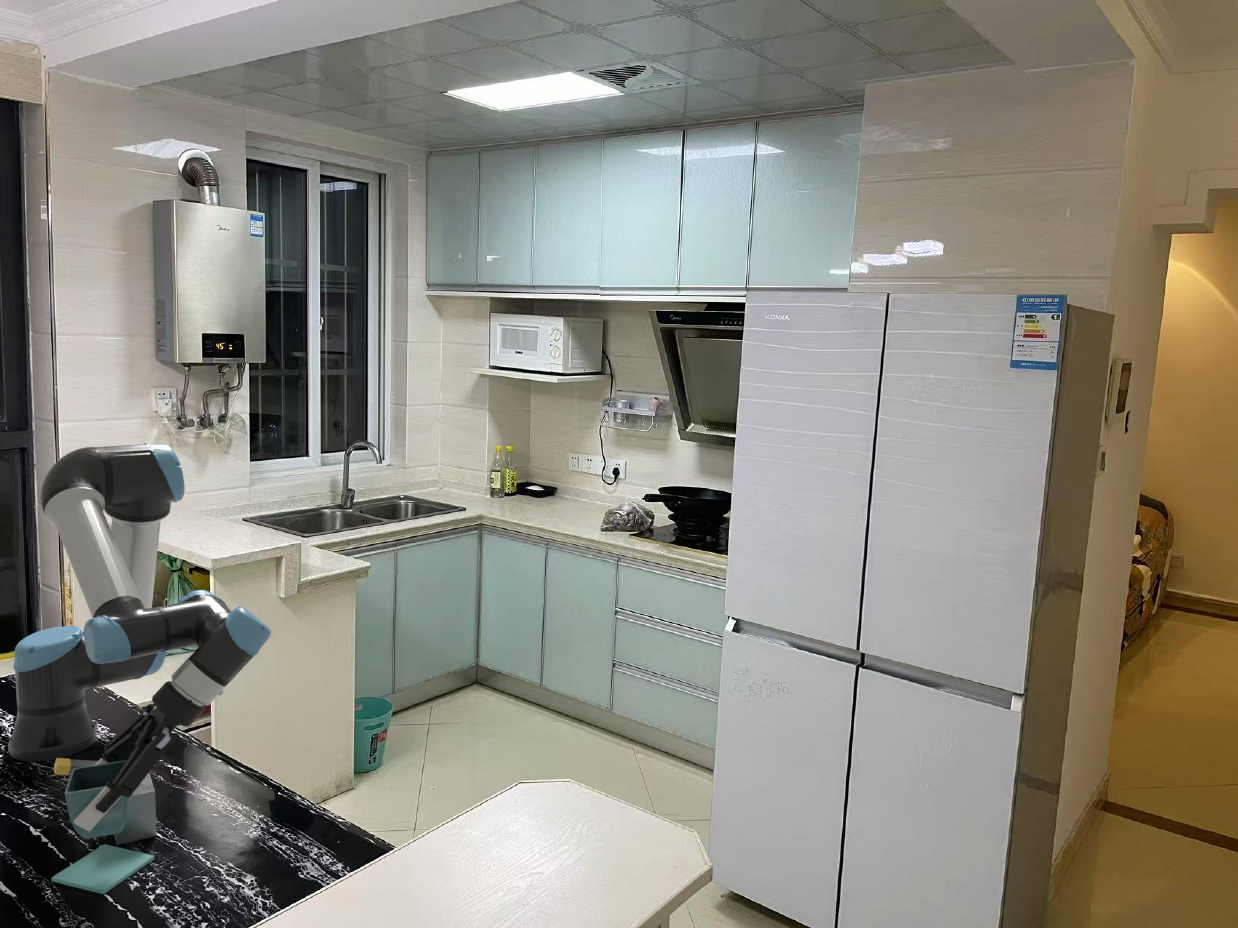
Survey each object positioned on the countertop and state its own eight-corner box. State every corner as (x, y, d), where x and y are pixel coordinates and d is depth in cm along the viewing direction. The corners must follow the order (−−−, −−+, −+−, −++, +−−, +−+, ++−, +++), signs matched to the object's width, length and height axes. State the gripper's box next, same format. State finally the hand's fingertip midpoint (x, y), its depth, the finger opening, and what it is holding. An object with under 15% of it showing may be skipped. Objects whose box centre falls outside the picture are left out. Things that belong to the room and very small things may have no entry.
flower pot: (67, 849, 138) (63, 793, 137) (74, 821, 146) (71, 767, 145) (133, 838, 142) (130, 783, 141) (137, 811, 150) (134, 758, 149)
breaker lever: (134, 761, 161) (56, 756, 155) (136, 770, 158) (57, 766, 151) (131, 770, 161) (53, 765, 155) (134, 779, 158) (54, 775, 151)
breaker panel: (148, 806, 165) (146, 760, 163) (156, 835, 156) (154, 786, 154) (108, 815, 161) (106, 768, 160) (115, 845, 152) (112, 795, 151)
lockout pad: (104, 847, 152) (104, 844, 152) (154, 859, 149) (154, 855, 149) (51, 881, 142) (51, 877, 142) (103, 894, 139) (103, 890, 139)
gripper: (219, 730, 141) (106, 857, 135) (194, 683, 159) (93, 793, 153) (180, 704, 138) (62, 832, 131) (159, 659, 156) (54, 770, 149)
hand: (79, 811), depth 142 cm, fingers closed on flower pot, 9 cm apart
